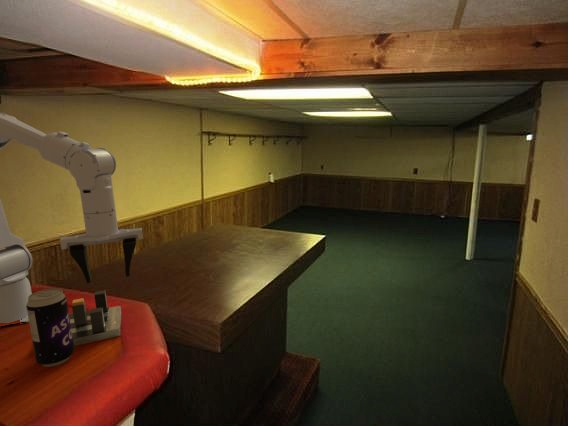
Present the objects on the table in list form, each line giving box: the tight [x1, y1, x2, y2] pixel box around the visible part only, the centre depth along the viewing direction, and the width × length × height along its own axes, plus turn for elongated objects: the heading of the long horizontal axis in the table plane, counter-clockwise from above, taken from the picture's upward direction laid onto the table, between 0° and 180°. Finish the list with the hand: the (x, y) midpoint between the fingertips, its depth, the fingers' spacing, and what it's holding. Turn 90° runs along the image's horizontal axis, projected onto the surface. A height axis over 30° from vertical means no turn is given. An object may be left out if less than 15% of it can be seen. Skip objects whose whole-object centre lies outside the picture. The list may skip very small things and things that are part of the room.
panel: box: [33, 289, 122, 353], centre depth 74 cm, size 13×14×6 cm
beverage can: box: [26, 288, 75, 368], centre depth 63 cm, size 6×6×12 cm
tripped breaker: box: [71, 297, 87, 326], centre depth 74 cm, size 2×2×5 cm
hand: (108, 278), depth 75 cm, fingers open, 6 cm apart
